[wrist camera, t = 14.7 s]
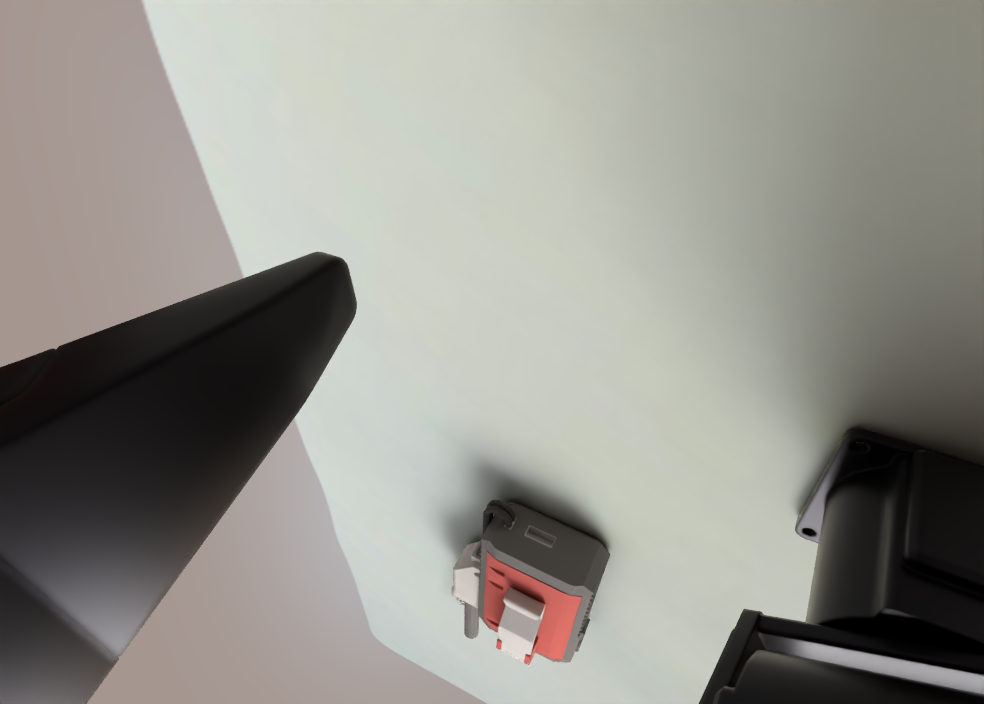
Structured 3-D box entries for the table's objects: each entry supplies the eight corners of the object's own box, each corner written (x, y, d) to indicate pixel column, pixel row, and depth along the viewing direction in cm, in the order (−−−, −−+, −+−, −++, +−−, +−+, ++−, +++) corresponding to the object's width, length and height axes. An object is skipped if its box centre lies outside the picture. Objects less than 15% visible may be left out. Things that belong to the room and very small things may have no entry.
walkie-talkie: (467, 466, 36) (466, 611, 50) (426, 532, 33) (438, 665, 48) (621, 534, 33) (573, 666, 48) (590, 612, 30) (549, 727, 45)
